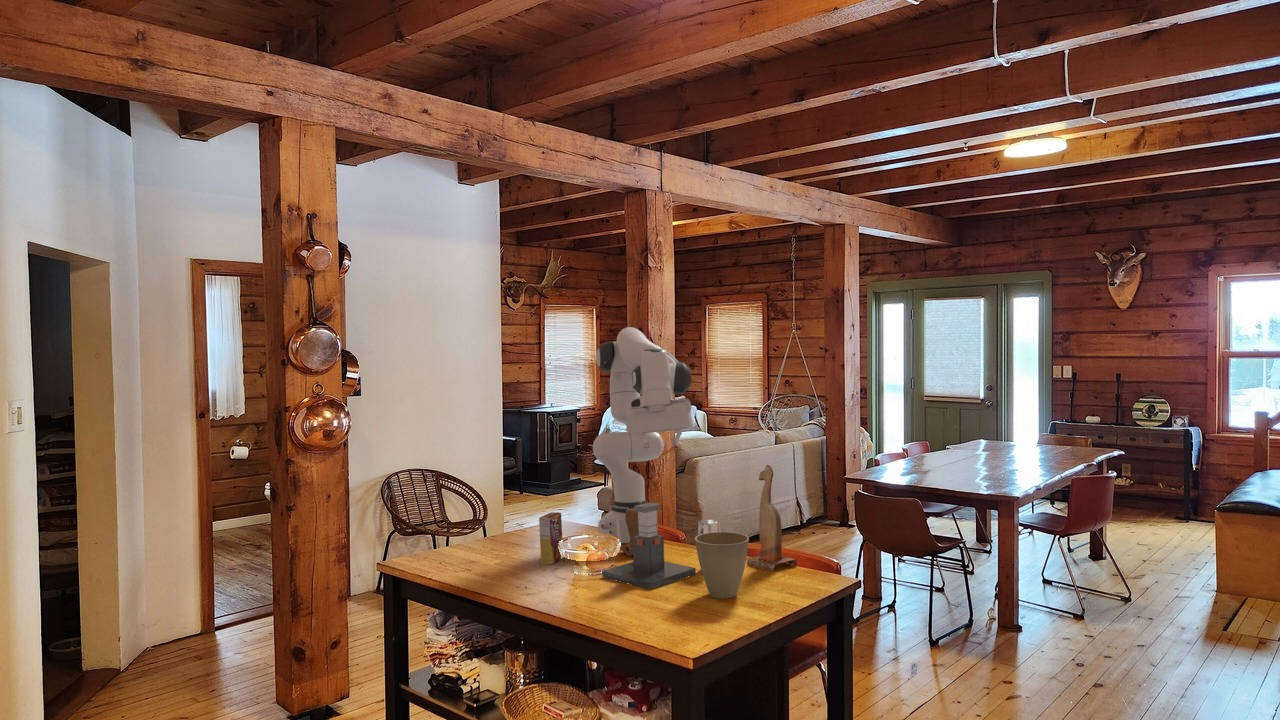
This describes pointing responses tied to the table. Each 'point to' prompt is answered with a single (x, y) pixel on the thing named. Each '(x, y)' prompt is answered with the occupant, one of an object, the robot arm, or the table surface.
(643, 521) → the light grey tall block
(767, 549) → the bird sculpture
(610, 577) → the stand
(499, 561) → the table surface
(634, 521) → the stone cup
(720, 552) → the plant pot
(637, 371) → the robot arm
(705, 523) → the beer glass
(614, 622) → the table surface
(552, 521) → the candy box
